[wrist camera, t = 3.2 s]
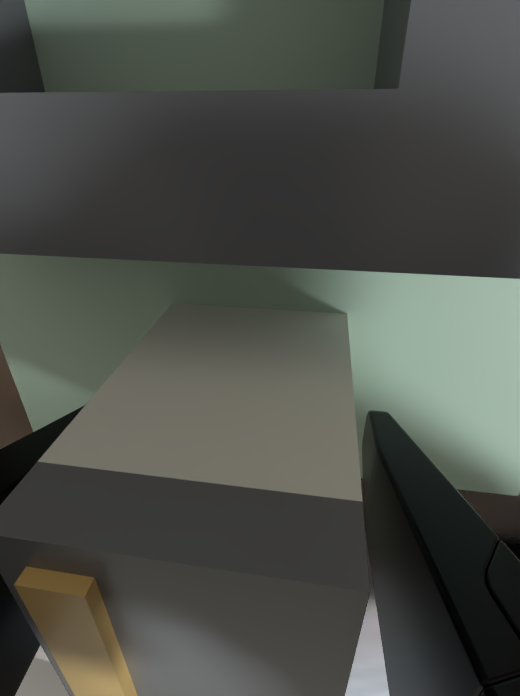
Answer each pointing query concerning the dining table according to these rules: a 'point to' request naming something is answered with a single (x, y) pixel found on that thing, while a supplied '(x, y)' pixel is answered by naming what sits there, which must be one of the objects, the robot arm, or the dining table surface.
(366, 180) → the grey flat square frame
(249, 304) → the circuit board
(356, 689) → the dining table surface
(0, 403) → the dining table surface
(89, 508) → the plug
